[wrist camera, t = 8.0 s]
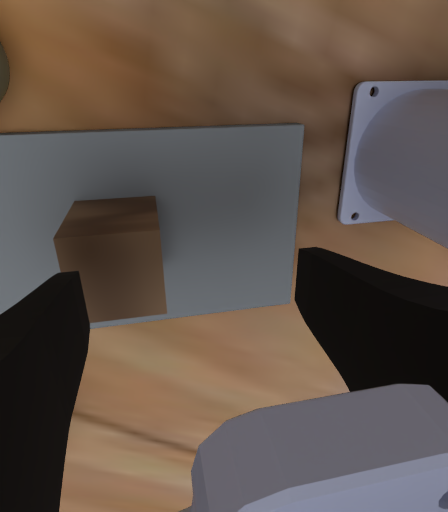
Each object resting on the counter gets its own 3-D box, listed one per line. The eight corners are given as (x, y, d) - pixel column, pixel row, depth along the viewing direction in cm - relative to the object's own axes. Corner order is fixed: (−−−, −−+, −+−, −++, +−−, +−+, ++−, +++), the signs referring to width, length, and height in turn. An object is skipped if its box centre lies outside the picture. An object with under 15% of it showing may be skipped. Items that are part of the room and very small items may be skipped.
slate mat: (296, 123, 20) (304, 124, 19) (284, 295, 24) (290, 303, 24) (-75, 135, 17) (-87, 138, 16) (-6, 331, 21) (-13, 341, 20)
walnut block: (155, 195, 19) (159, 229, 14) (161, 264, 21) (167, 313, 16) (74, 200, 18) (52, 238, 14) (88, 271, 20) (72, 325, 15)
